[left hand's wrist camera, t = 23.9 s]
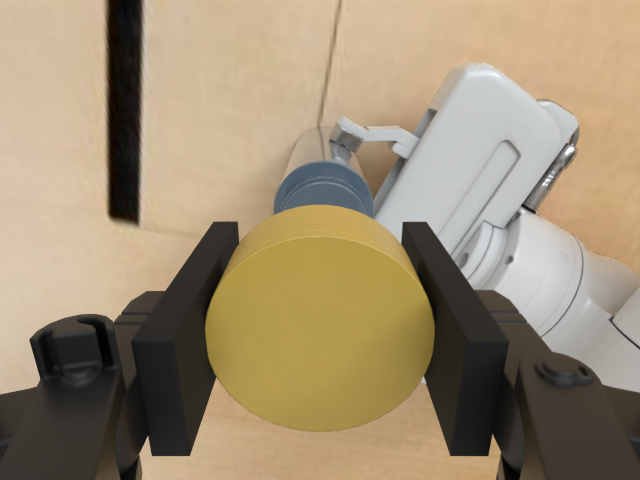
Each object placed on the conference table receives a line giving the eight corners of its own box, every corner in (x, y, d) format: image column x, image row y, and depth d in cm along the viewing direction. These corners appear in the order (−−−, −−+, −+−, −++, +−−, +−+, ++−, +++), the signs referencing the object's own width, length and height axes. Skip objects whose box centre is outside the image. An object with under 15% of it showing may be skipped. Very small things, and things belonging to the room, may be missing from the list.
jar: (336, 115, 32) (347, 149, 18) (364, 171, 34) (397, 245, 19) (280, 146, 33) (247, 203, 18) (311, 199, 35) (302, 292, 20)
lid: (328, 161, 11) (331, 183, 9) (453, 302, 12) (481, 351, 10) (184, 287, 12) (155, 335, 10) (312, 402, 14) (311, 464, 11)
